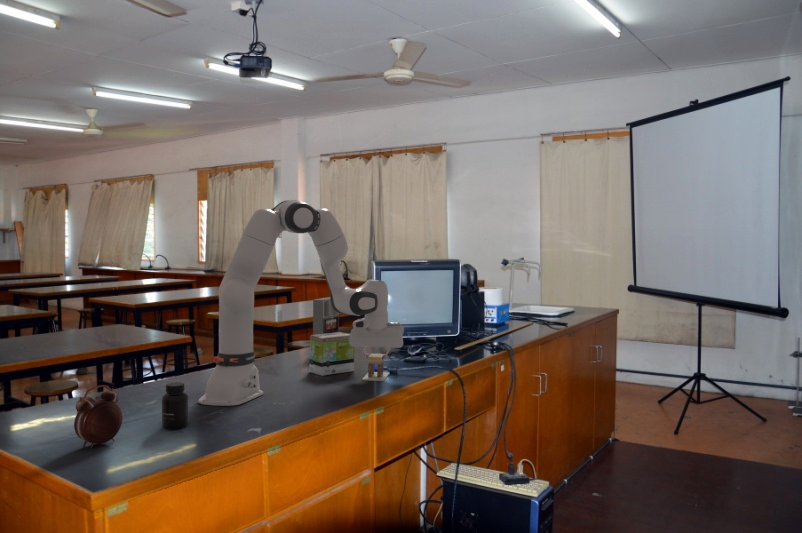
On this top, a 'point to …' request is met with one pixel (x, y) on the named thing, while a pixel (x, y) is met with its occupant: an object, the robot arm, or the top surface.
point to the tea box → (331, 354)
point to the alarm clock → (98, 417)
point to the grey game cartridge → (324, 317)
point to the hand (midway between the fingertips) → (376, 358)
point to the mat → (375, 378)
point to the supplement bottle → (174, 407)
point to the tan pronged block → (372, 361)
